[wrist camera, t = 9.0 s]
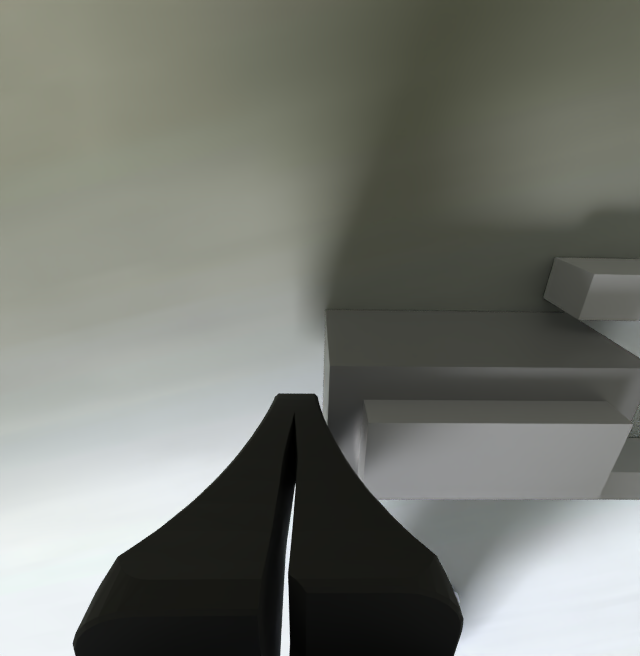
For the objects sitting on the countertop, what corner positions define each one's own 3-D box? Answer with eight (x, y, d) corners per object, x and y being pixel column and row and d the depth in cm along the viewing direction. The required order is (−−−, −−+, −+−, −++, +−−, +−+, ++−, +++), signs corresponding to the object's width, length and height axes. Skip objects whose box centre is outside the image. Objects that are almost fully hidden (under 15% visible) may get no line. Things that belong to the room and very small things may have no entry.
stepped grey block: (531, 419, 16) (617, 524, 11) (322, 418, 16) (325, 525, 11) (566, 312, 14) (689, 389, 9) (325, 309, 14) (331, 387, 9)
